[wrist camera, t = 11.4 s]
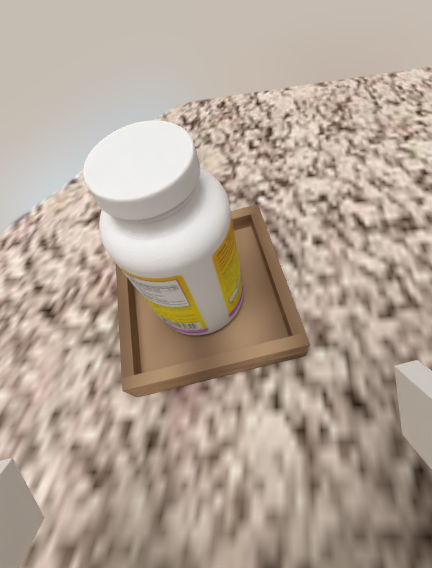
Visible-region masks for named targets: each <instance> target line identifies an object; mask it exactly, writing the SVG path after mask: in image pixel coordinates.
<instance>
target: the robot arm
mask: <svg viewBox="0 0 432 568" xmlns="http://www.w3.org/2000/svg"><path fill="white" fill-rule="evenodd" d="M394 368H395V377H396V386H397V395H398V403H399V412H400V421H401V429H402V435H403V436H404V437H405V438H406V439H407V441H408V442H409V443H410V444H411V445H412V447H413V448H414V449H415V450H416V452H417V453H418V454H419V455H420V456H421V458H422V459H423V460H424V461H425V462H426V464H427V465H428V466H429V467H430V468H431V470H432V371H431V370H430V369H429V368H427V367H426V366H425V365H423V364H422V363H421V362H419V361H418V360H416V361H412V362H408V363H403V364H399V365H395V366H394ZM43 519H44V516H43V514H42V512H41V510H40V508H39V506H38V505H37V503H36V501H35V499H34V497H33V495H32V493H31V492H30V490H29V488H28V486H27V484H26V482H25V480H24V478H23V477H22V475H21V473H20V471H19V469H18V467H17V465H16V463H15V462H14V460H13V458H10V459H6V460H2V461H0V568H19V567H20V565H21V563H22V561H23V559H24V557H25V555H26V553H27V551H28V549H29V547H30V545H31V543H32V541H33V539H34V537H35V535H36V533H37V531H38V529H39V527H40V525H41V523H42V521H43Z"/></svg>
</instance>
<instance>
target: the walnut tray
mask: <svg viewBox="0 0 432 568" xmlns="http://www.w3.org/2000/svg"><path fill="white" fill-rule="evenodd" d="M231 216H232V222H233V228H234V235H235V240H236V246H237V251H238V257H239V263H240V269H241V275H242V281H243V299H242V303H241V306H240V308H239V310H238V312H237V314H236V315H235V316H234V318H233V319H232V320H231V321H230V322H229V323H228V324H227V325H225V326H224V327H223V328H221V329H219V330H217V331H215V332H212V333H209V334H205V335H187V334H182V333H180V332H177V331H175V330H173V329H172V328H170V327H169V326H168V325H167V324H166V323H164V322H163V320H162V319H161V318H160V317H159V316H158V315H157V314H156V312H155V311H154V310H153V309H152V307H151V306H150V305H149V304H148V302H147V301H146V300H145V299H144V298H143V296H142V295H141V294H140V293H139V291H138V290H137V289H136V288H135V286H134V285H133V284H132V283H131V281H130V280H129V279H128V278H127V276H126V275H125V274H124V273H123V272H122V270H121V269H120V268H119V267H118V265H117V264H116V276H117V295H118V314H119V333H120V351H121V370H122V389H123V391H124V392H126V393H129V394H131V395H133V396H135V397H140V396H144V395H149V394H153V393H157V392H161V391H165V390H169V389H173V388H177V387H181V386H185V385H189V384H193V383H197V382H201V381H205V380H209V379H213V378H217V377H221V376H225V375H230V374H234V373H238V372H242V371H246V370H250V369H254V368H258V367H262V366H266V365H270V364H274V363H278V362H282V361H286V360H290V359H294V358H298V357H302V356H306V353H307V351H308V348H309V345H310V344H309V341H308V338H307V336H306V333H305V330H304V328H303V325H302V322H301V320H300V317H299V314H298V311H297V309H296V306H295V303H294V301H293V298H292V295H291V293H290V290H289V287H288V285H287V282H286V279H285V277H284V274H283V271H282V269H281V266H280V263H279V260H278V258H277V255H276V252H275V250H274V247H273V244H272V242H271V239H270V236H269V234H268V231H267V228H266V226H265V223H264V220H263V217H262V215H261V212H260V209H259V207H258V204H257V205H254V206H250V207H246V208H242V209H238V210H234V211H231Z"/></svg>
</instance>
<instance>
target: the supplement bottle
mask: <svg viewBox="0 0 432 568" xmlns="http://www.w3.org/2000/svg"><path fill="white" fill-rule="evenodd" d="M83 176H84V181H85V184H86V186H87V187H88V189H89V190H90V192H91V194H92V195H93V197H94V198H95V200H96V202H97V204H98V205H99V207H100V208H101V209H102V211H101V215H100V222H99V228H100V236H101V239H102V242H103V245H104V247H105V249H106V251H107V252H108V254H109V255H110V256H111V258H112V259H113V260H114V262H115V263H116V264H117V265H118V267H119V268H120V269H121V270H122V272H123V273H124V274H125V275H126V276H127V278H128V279H129V280H130V281H131V283H132V284H133V285H134V286H135V288H136V289H137V290H138V291H139V293H140V294H141V295H142V296H143V298H144V299H145V300H146V301H147V302H148V304H149V305H150V306H151V307H152V309H153V310H154V311H155V312H156V314H157V315H158V316H159V317H160V318H161V319H162V320H163V322H164V323H166V324H167V325H168V326H169V327H170V328H172V329H173V330H175V331H177V332H180V333H182V334H187V335H205V334H209V333H212V332H215V331H217V330H219V329H221V328H223V327H224V326H225V325H227V324H228V323H229V322H230V321H231V320H232V319H233V318H234V316H235V315H236V314H237V312H238V310H239V308H240V306H241V303H242V299H243V281H242V275H241V269H240V263H239V257H238V251H237V246H236V240H235V235H234V228H233V222H232V216H231V210H230V205H229V200H228V197H227V195H226V192H225V190H224V188H223V187H222V185H221V184H220V183H219V182H218V181H217V179H216V178H215V177H214V176H212V175H211V174H210V173H209V172H207V171H206V170H204V169H202V168H200V163H199V159H198V156H197V152H196V149H195V145H194V142H193V140H192V138H191V136H190V135H189V133H188V132H187V131H186V130H184V129H183V128H182V127H180V126H178V125H176V124H173V123H170V122H166V121H153V120H152V121H143V122H138V123H134V124H130V125H127V126H125V127H122V128H120V129H118V130H116V131H114V132H113V133H111V134H109V135H108V136H106V137H105V138H104V139H103V140H101V141H100V142H99V143H98V144H97V145H96V146H95V147H94V148H93V149H92V151H91V152H90V153H89V155H88V157H87V159H86V161H85V165H84V169H83Z"/></svg>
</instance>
